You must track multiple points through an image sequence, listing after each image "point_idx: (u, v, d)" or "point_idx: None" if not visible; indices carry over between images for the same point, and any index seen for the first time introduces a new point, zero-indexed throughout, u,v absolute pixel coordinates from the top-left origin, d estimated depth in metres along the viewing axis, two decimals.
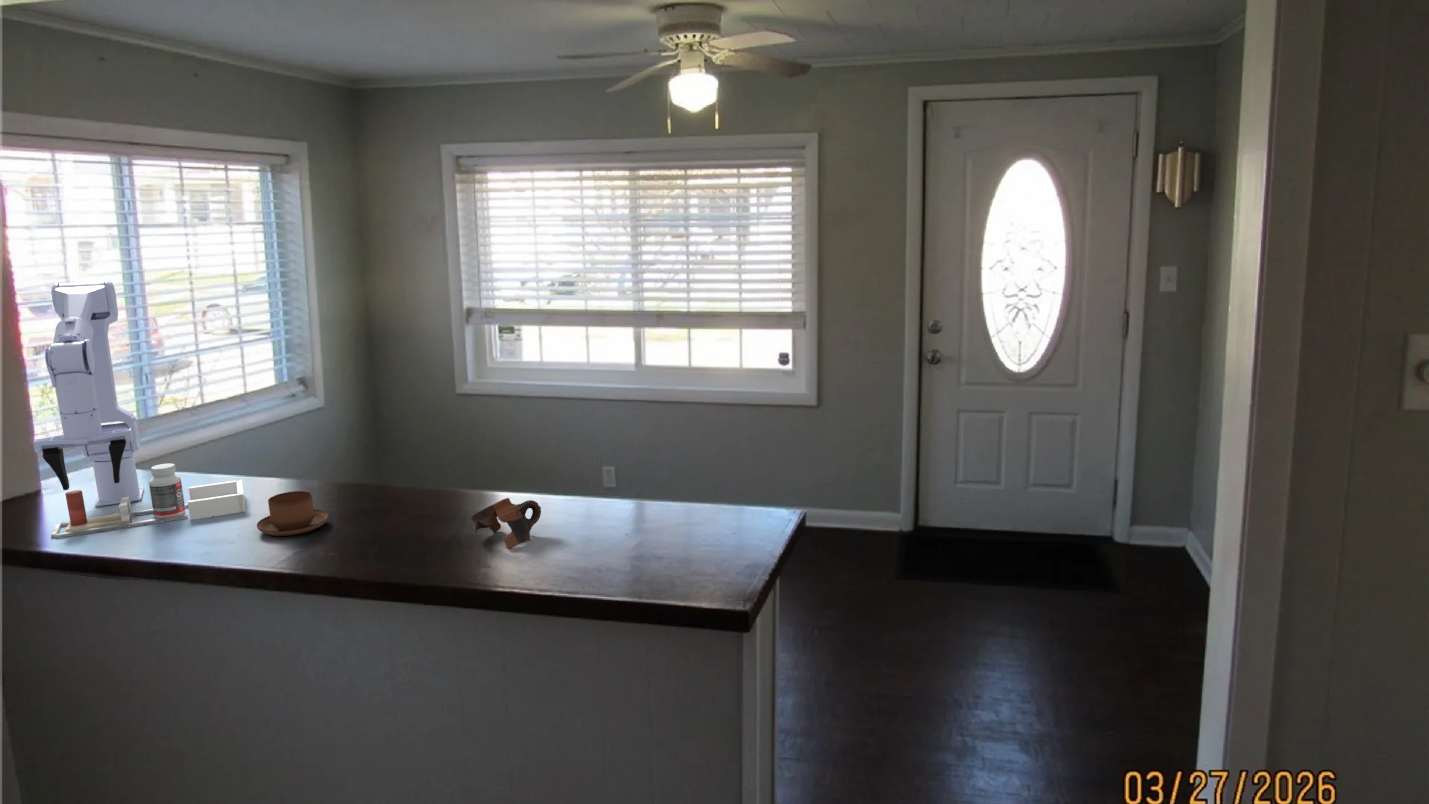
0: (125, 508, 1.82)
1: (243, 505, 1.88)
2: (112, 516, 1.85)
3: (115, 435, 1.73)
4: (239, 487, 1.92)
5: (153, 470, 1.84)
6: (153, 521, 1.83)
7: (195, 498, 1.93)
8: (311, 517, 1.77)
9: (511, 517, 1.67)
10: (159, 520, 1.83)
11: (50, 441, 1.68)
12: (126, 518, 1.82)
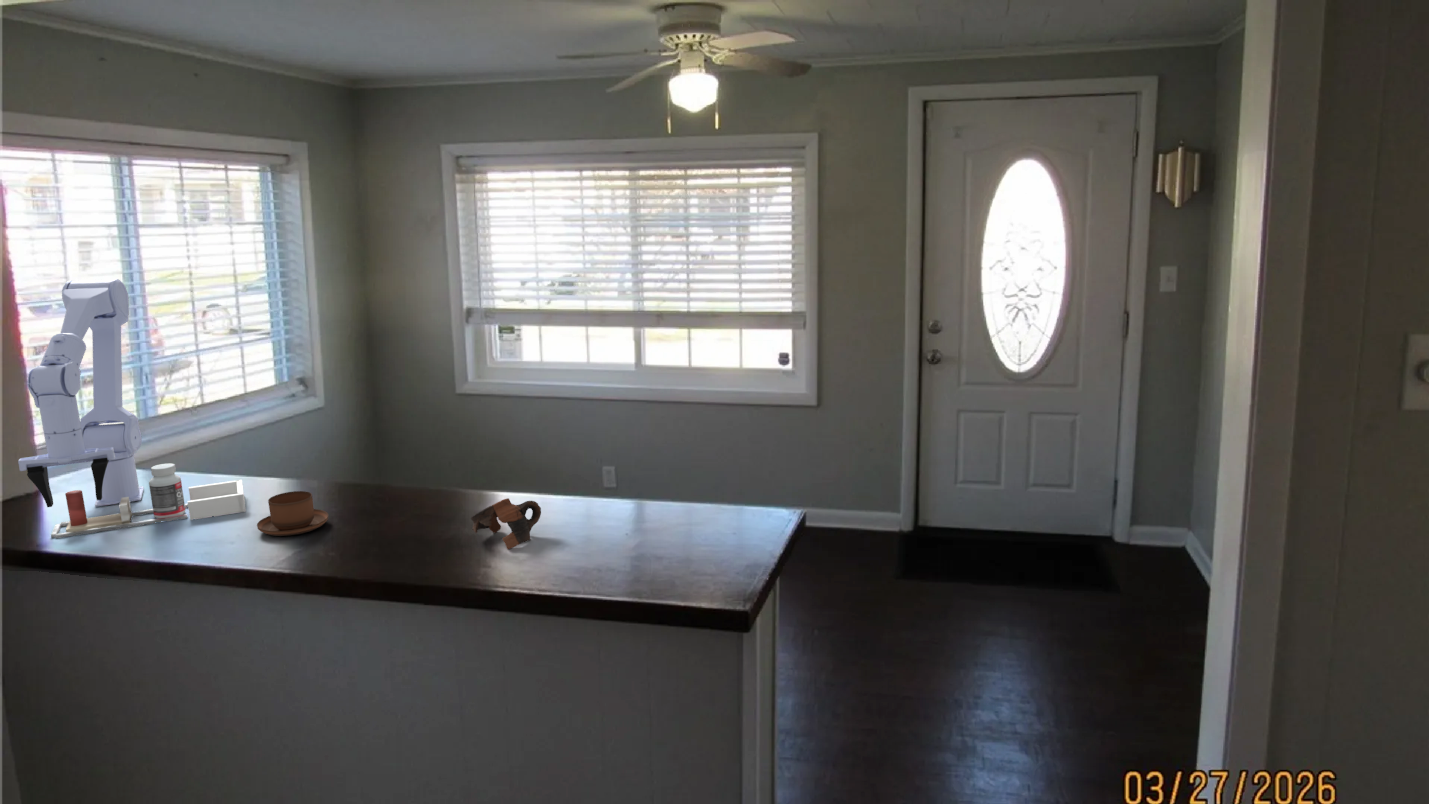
0: (125, 508, 1.82)
1: (243, 505, 1.88)
2: (112, 516, 1.85)
3: (97, 454, 1.79)
4: (239, 487, 1.92)
5: (153, 470, 1.84)
6: (153, 521, 1.83)
7: (195, 498, 1.93)
8: (311, 517, 1.77)
9: (511, 517, 1.66)
10: (159, 520, 1.83)
11: (34, 460, 1.75)
12: (126, 518, 1.82)
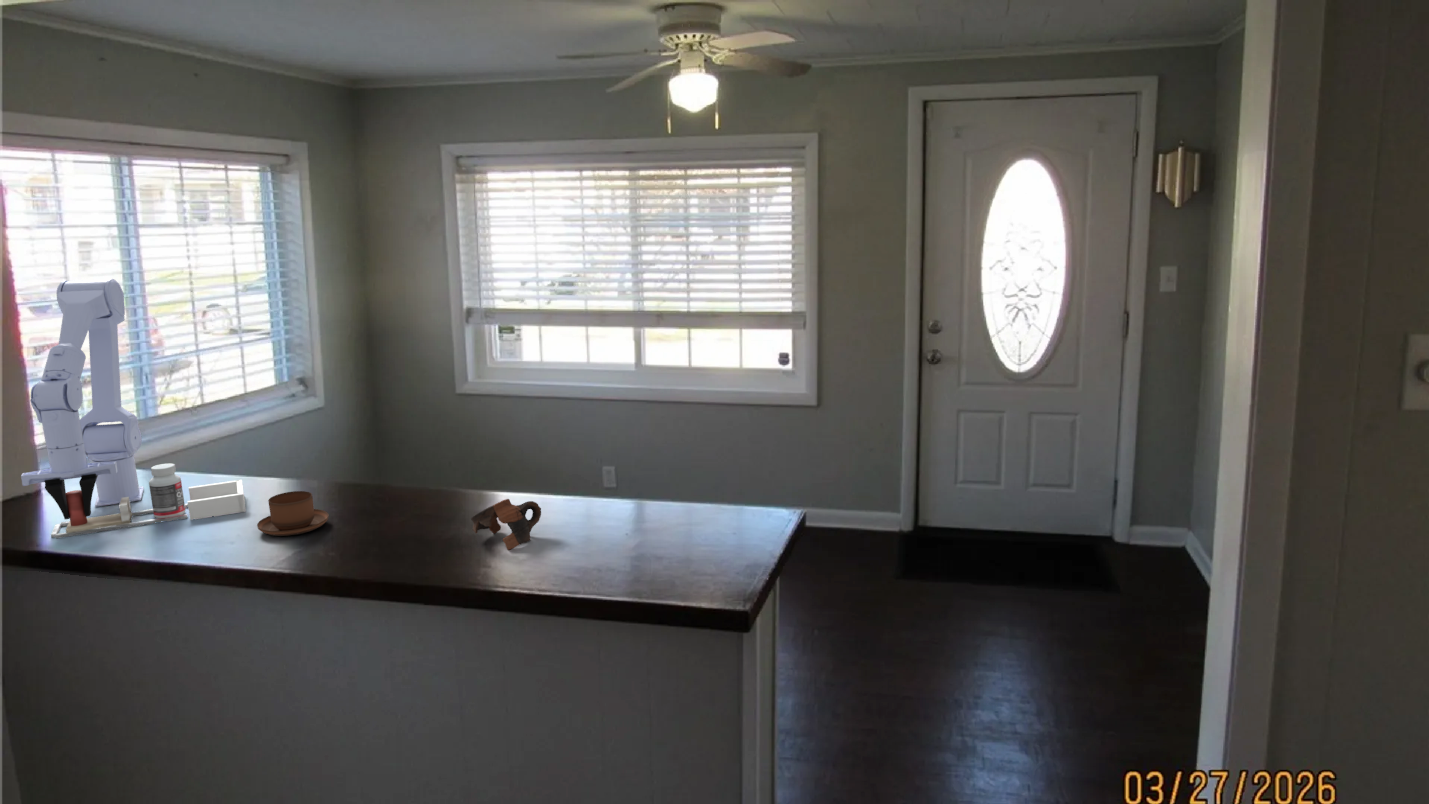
0: (125, 508, 1.82)
1: (243, 505, 1.88)
2: (112, 516, 1.85)
3: (100, 468, 1.80)
4: (239, 487, 1.92)
5: (153, 470, 1.84)
6: (153, 521, 1.83)
7: (195, 498, 1.93)
8: (311, 517, 1.77)
9: (511, 518, 1.66)
10: (159, 520, 1.83)
11: (37, 475, 1.76)
12: (126, 518, 1.82)
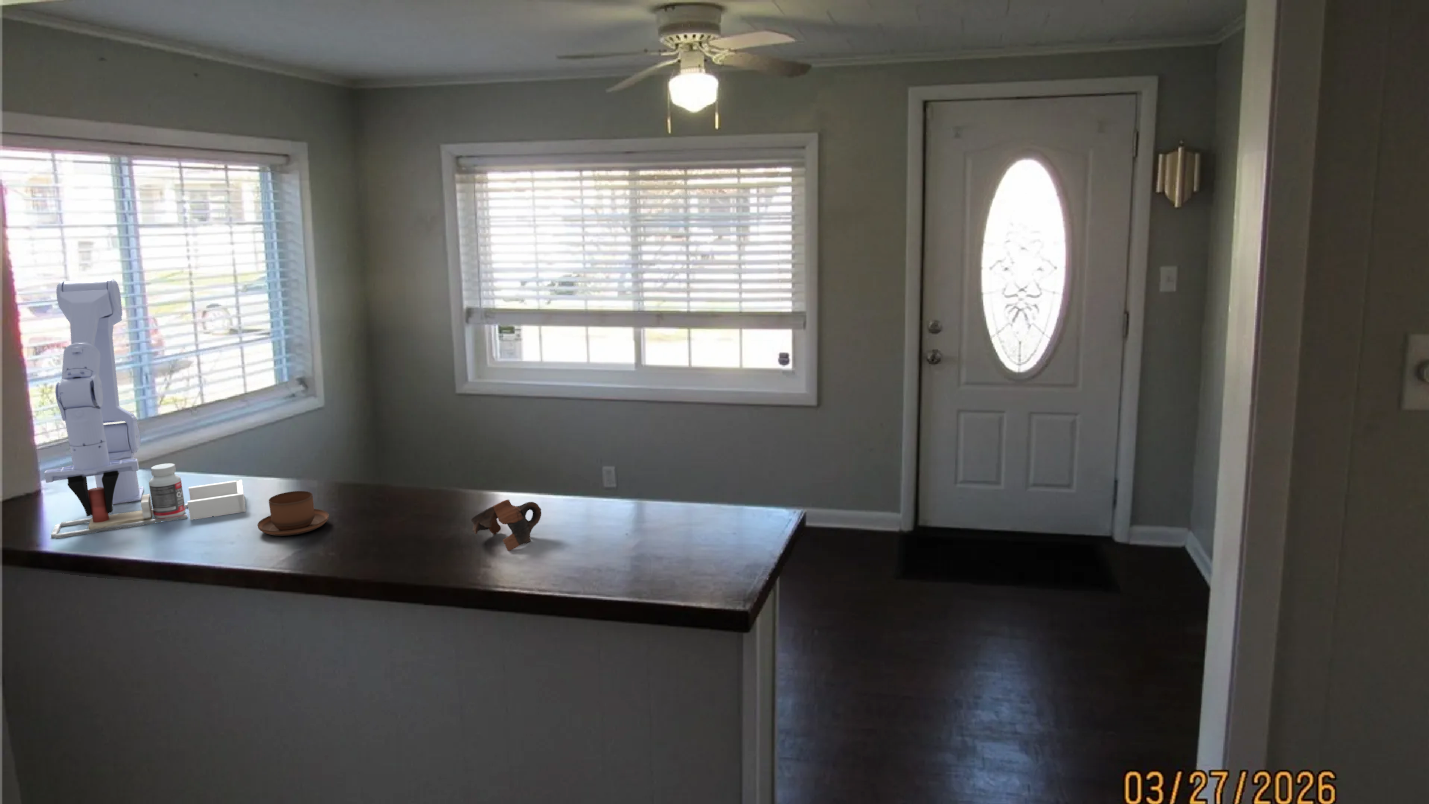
0: (147, 505, 1.83)
1: (243, 505, 1.88)
2: (133, 513, 1.86)
3: (122, 465, 1.81)
4: (239, 487, 1.92)
5: (153, 470, 1.84)
6: (153, 521, 1.83)
7: (195, 498, 1.93)
8: (312, 517, 1.77)
9: (511, 519, 1.66)
10: (159, 520, 1.83)
11: (60, 472, 1.77)
12: (148, 515, 1.84)
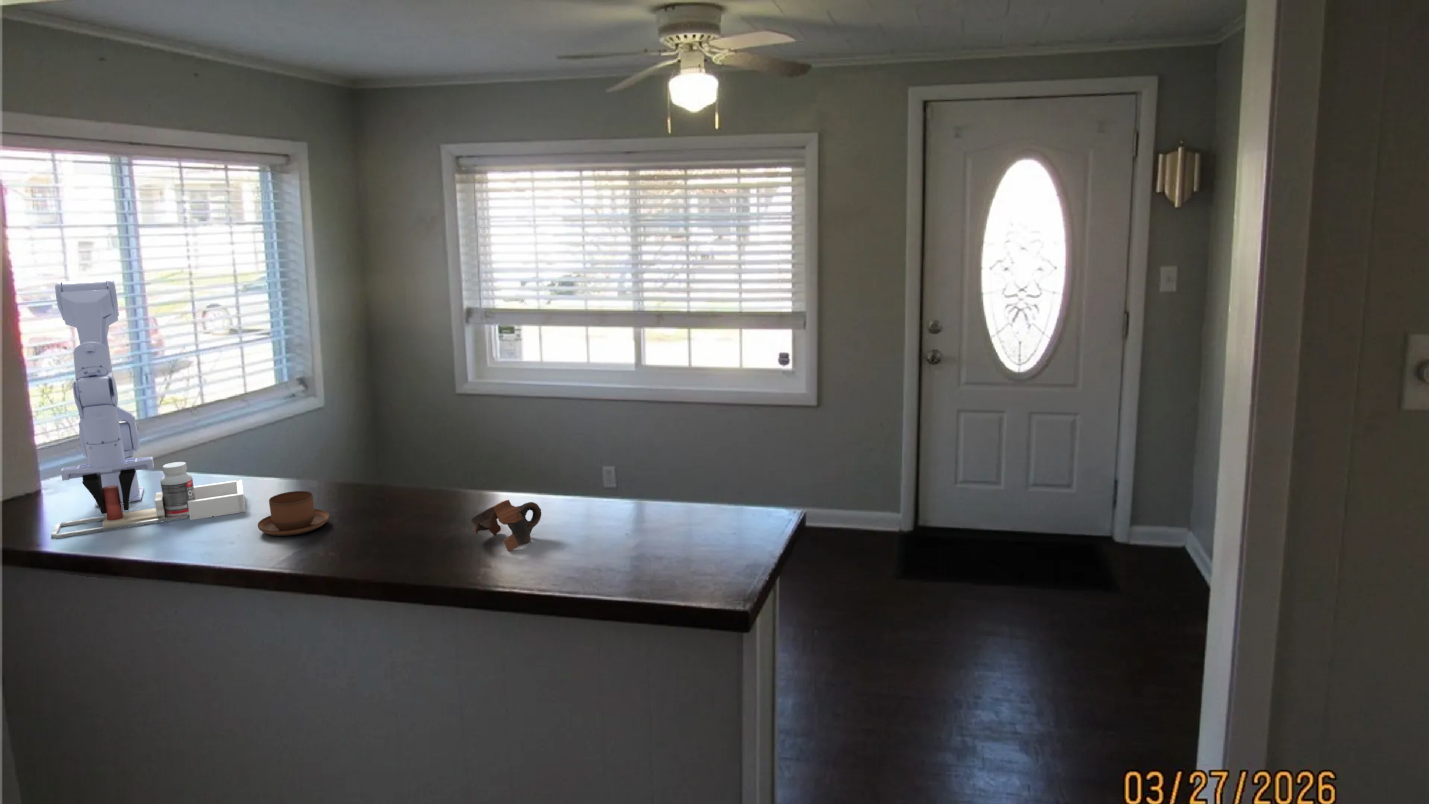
0: (160, 503, 1.84)
1: (243, 505, 1.88)
2: (147, 511, 1.87)
3: (137, 463, 1.82)
4: (239, 487, 1.92)
5: (165, 468, 1.85)
6: (153, 521, 1.83)
7: (195, 498, 1.93)
8: (312, 517, 1.77)
9: (511, 519, 1.65)
10: (159, 520, 1.83)
11: (76, 470, 1.78)
12: (161, 513, 1.85)
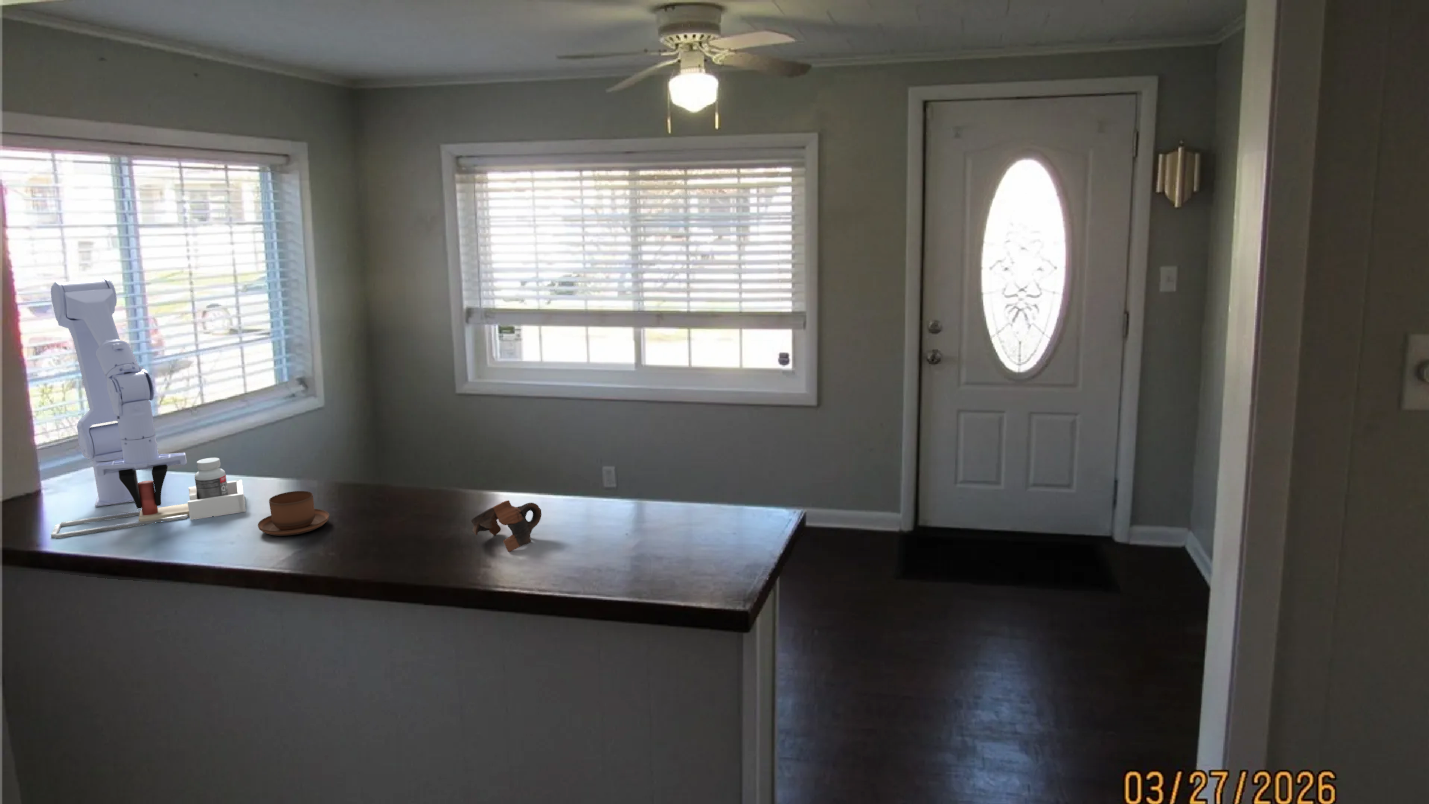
0: (195, 498, 1.87)
1: (243, 505, 1.88)
2: (181, 506, 1.90)
3: (171, 459, 1.85)
4: (239, 487, 1.92)
5: (199, 464, 1.87)
6: (153, 521, 1.83)
7: None
8: (312, 517, 1.78)
9: (512, 520, 1.65)
10: (159, 520, 1.83)
11: (112, 465, 1.81)
12: None
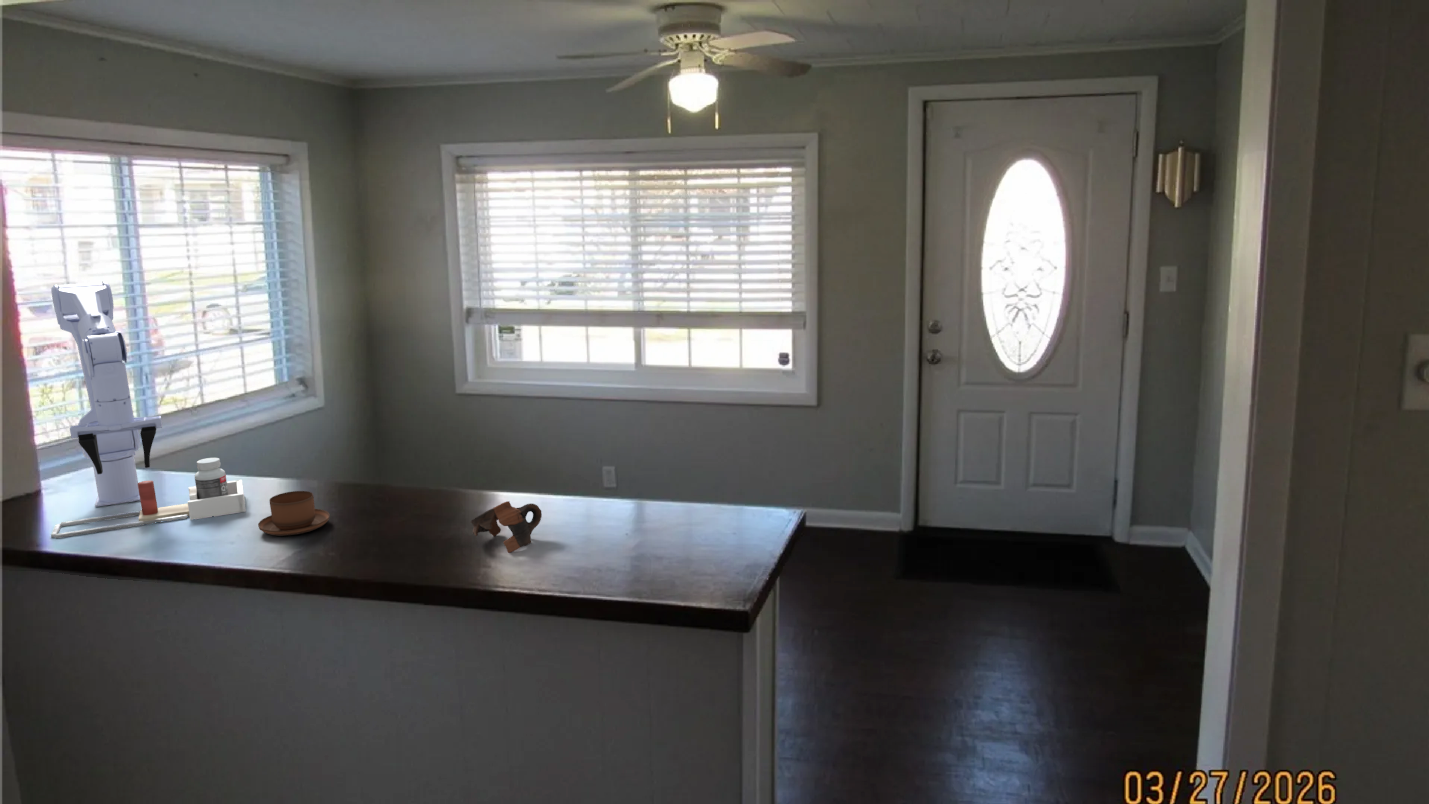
0: (195, 498, 1.87)
1: (243, 505, 1.88)
2: (181, 506, 1.90)
3: (146, 422, 1.83)
4: (239, 487, 1.92)
5: (199, 464, 1.87)
6: (153, 521, 1.83)
7: None
8: (312, 517, 1.78)
9: (512, 521, 1.65)
10: (159, 520, 1.83)
11: (85, 427, 1.78)
12: None
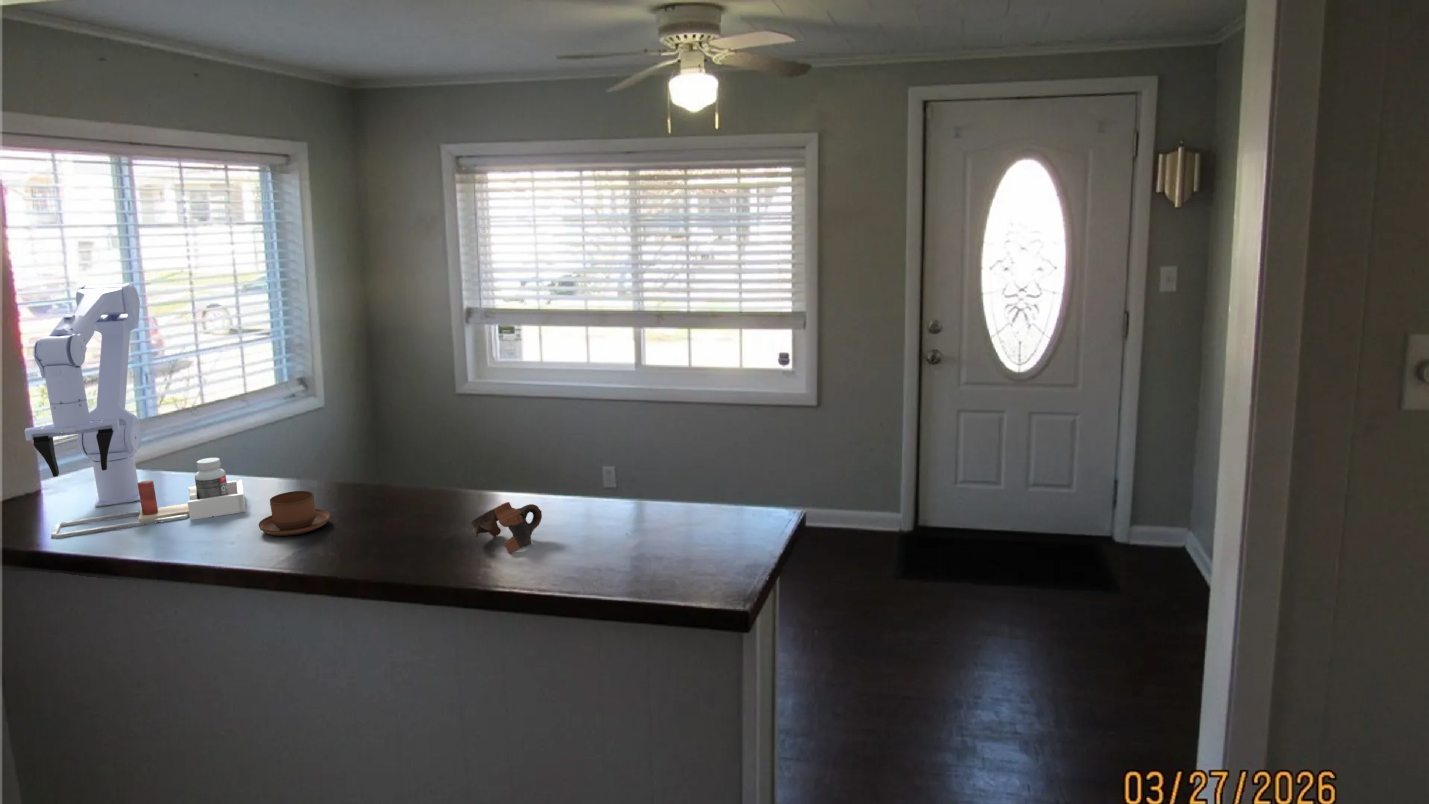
0: (195, 498, 1.87)
1: (243, 505, 1.88)
2: (181, 506, 1.90)
3: (102, 424, 1.81)
4: (239, 487, 1.92)
5: (199, 464, 1.87)
6: (153, 521, 1.83)
7: None
8: (313, 517, 1.78)
9: (512, 521, 1.64)
10: (159, 520, 1.83)
11: (40, 430, 1.77)
12: None
